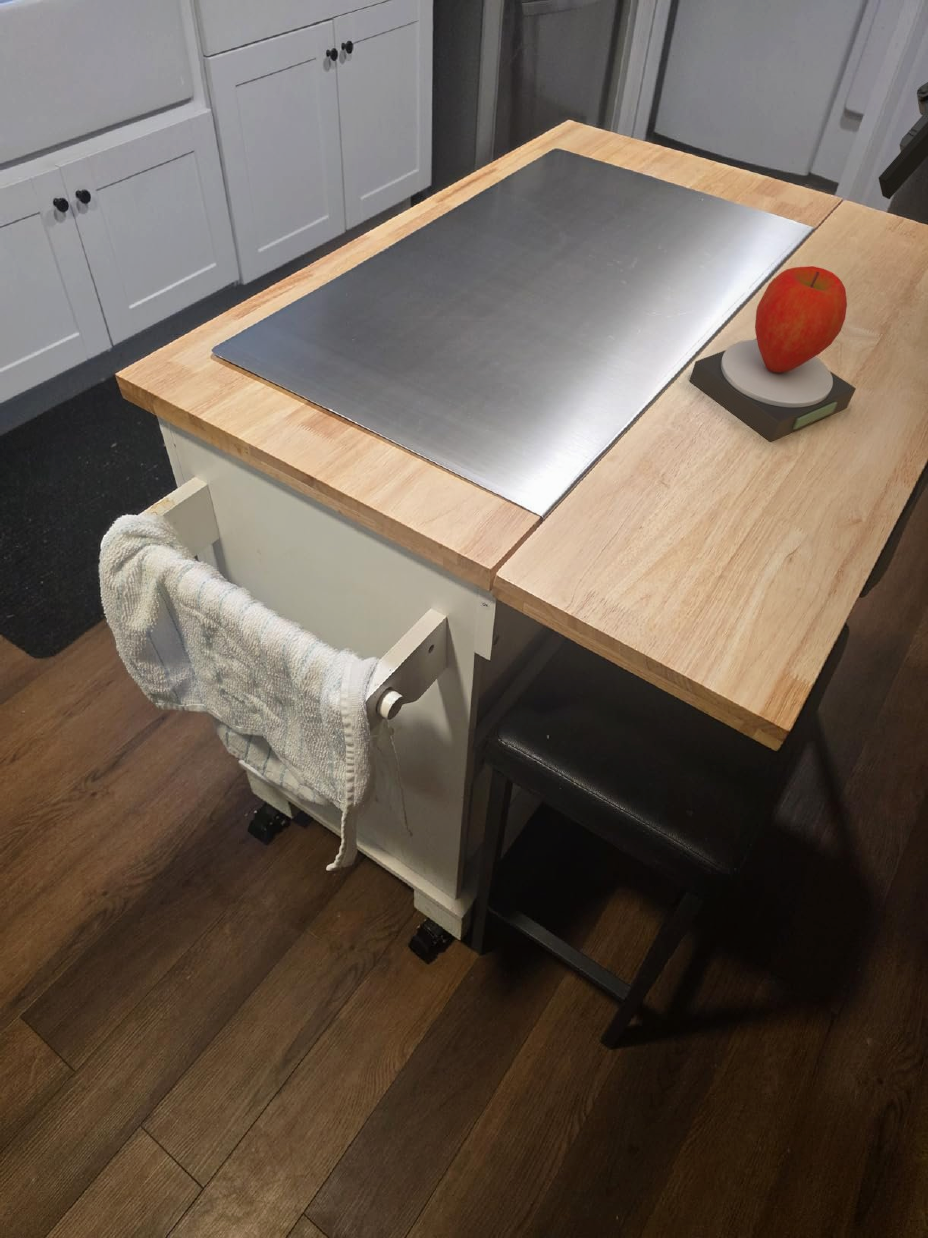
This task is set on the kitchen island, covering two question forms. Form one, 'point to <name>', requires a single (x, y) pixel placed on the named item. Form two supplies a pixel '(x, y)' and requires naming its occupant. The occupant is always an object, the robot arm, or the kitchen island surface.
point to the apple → (799, 316)
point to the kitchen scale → (770, 390)
